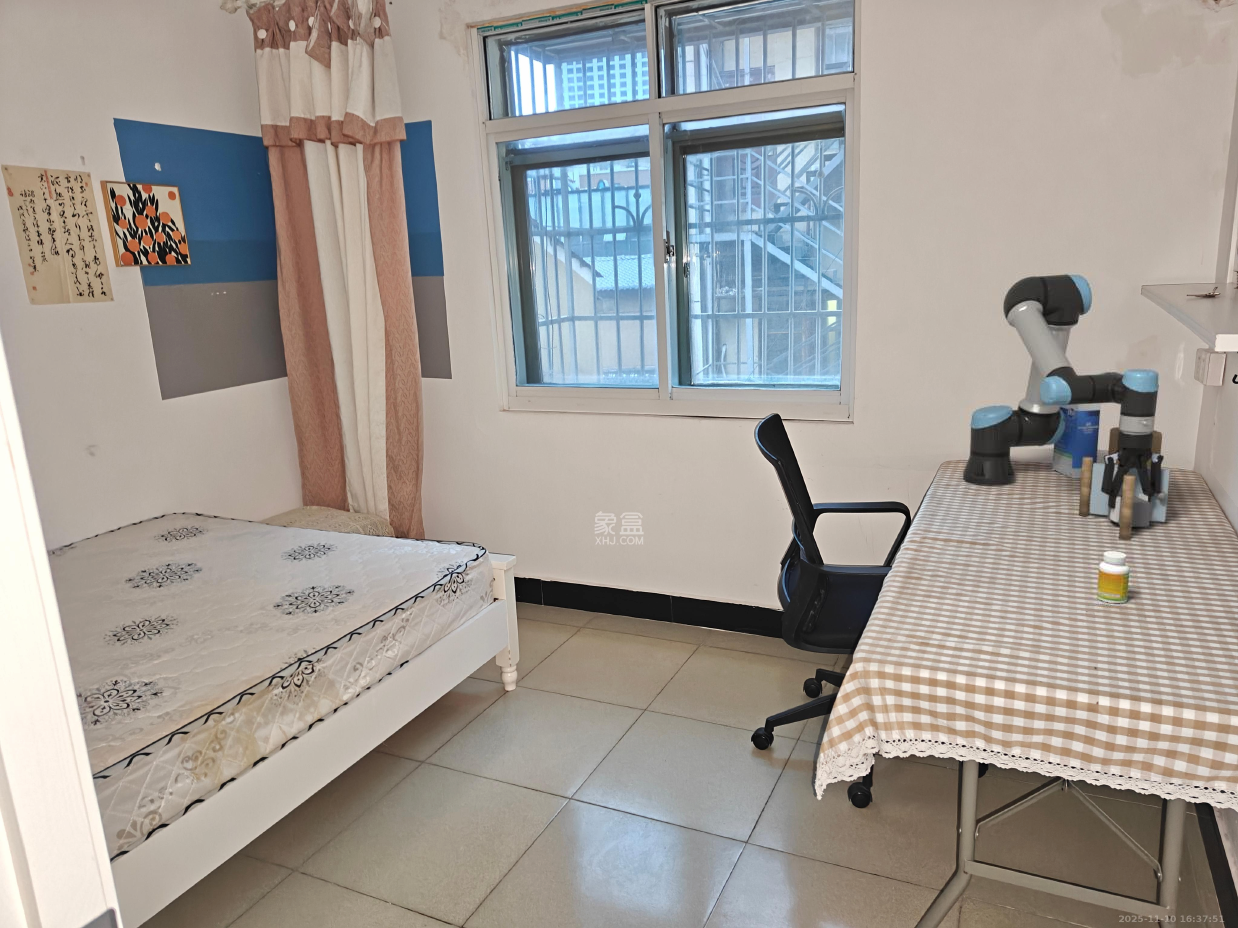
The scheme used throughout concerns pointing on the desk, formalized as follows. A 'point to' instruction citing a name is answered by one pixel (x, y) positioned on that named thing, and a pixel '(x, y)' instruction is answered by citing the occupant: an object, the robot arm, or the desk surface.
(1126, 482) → the door frame
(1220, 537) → the desk surface
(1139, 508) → the block
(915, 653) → the desk surface
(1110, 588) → the supplement bottle
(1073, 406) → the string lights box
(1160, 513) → the door
